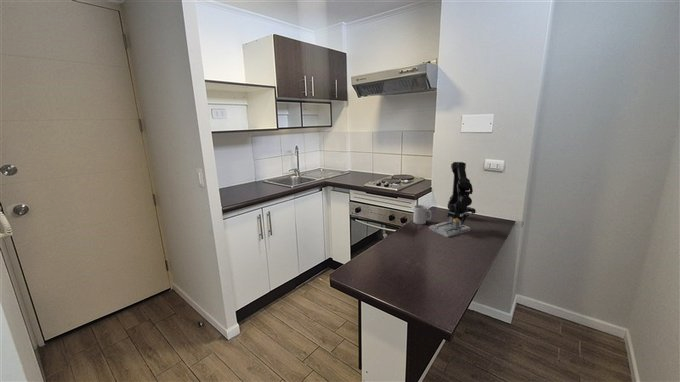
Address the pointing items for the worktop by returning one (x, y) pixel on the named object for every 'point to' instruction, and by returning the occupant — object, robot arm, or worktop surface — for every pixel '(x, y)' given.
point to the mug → (421, 214)
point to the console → (448, 229)
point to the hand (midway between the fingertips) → (460, 225)
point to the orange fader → (456, 223)
